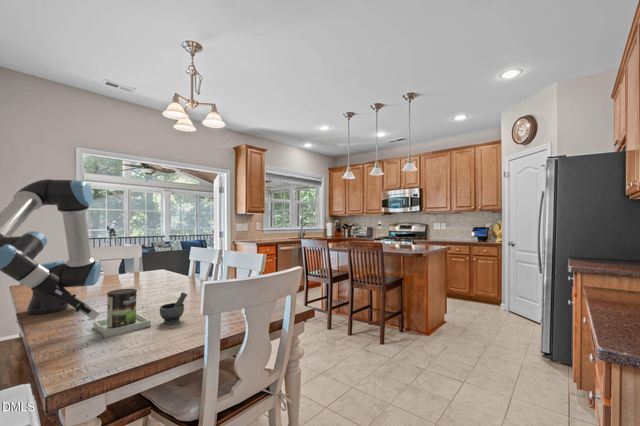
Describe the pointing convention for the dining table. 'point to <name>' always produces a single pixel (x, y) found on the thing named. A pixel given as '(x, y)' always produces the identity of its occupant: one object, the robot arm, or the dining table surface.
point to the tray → (140, 323)
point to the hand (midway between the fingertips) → (91, 313)
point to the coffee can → (121, 308)
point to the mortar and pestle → (173, 310)
